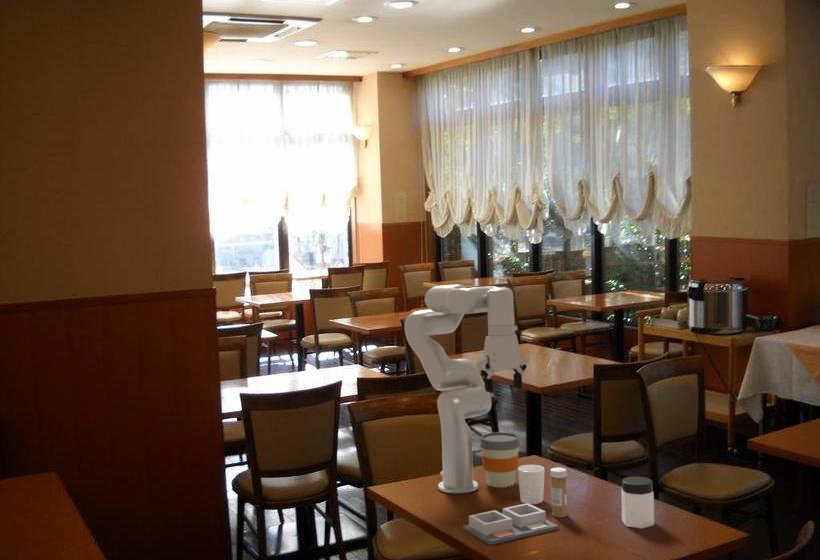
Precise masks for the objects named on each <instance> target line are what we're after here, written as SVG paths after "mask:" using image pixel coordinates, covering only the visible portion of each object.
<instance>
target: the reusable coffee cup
mask: <svg viewBox="0 0 820 560" xmlns="http://www.w3.org/2000/svg"><path fill="white" fill-rule="evenodd" d="M479 441H480V444H479V446H480V448H481V454H480V455H481V461H482V463H481V464H482V468H483V470H484V473H485V475H484V476H485V480H486V484H488V485H487V486H490V487H492V486H493V488H508V487H507V486H509V487H512V486H514V485H515V484H516V475H517V470H518V467H519V461H520V460H519V458H520V453H519V448H520V446H521V445H520V439H519V435H517V434H515V433H511V432H505V431H504V432H500V431H499V432H490V433H485V434H482V435H480V440H479ZM511 485H512V486H511Z"/></svg>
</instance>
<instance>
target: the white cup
mask: <svg viewBox="0 0 820 560" xmlns="http://www.w3.org/2000/svg"><path fill="white" fill-rule="evenodd" d="M517 474H518V476H517V477H518V487H519V488H518V489H519V499H520V501H521V503H522V504H526V503H529V504H531V505H538V504H541V503H543V501H544V493H545V467H544V466H542V465H539V464H523V465H519V466H518V468H517Z"/></svg>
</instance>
